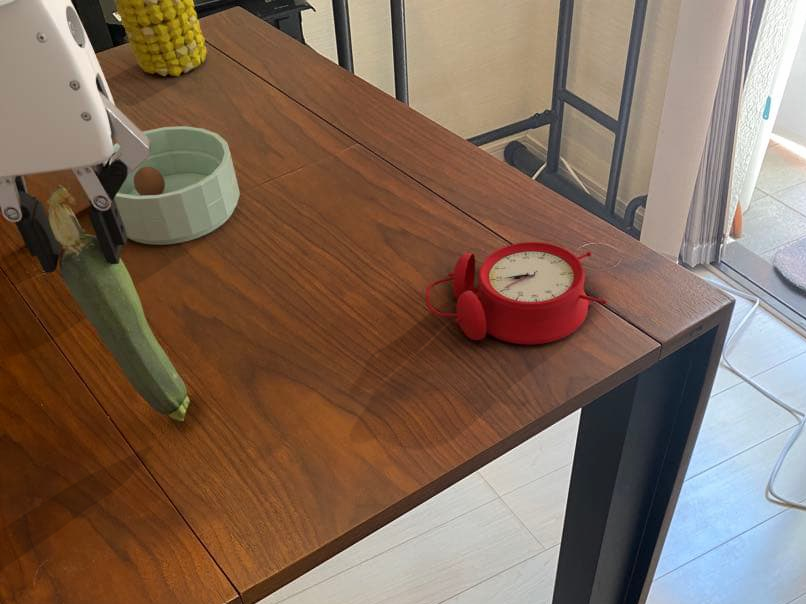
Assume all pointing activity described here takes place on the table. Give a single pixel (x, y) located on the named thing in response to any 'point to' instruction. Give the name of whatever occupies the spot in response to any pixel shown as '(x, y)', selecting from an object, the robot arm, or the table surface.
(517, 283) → the alarm clock
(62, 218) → the vegetable
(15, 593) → the table surface
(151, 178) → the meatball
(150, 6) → the food
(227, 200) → the bowl
